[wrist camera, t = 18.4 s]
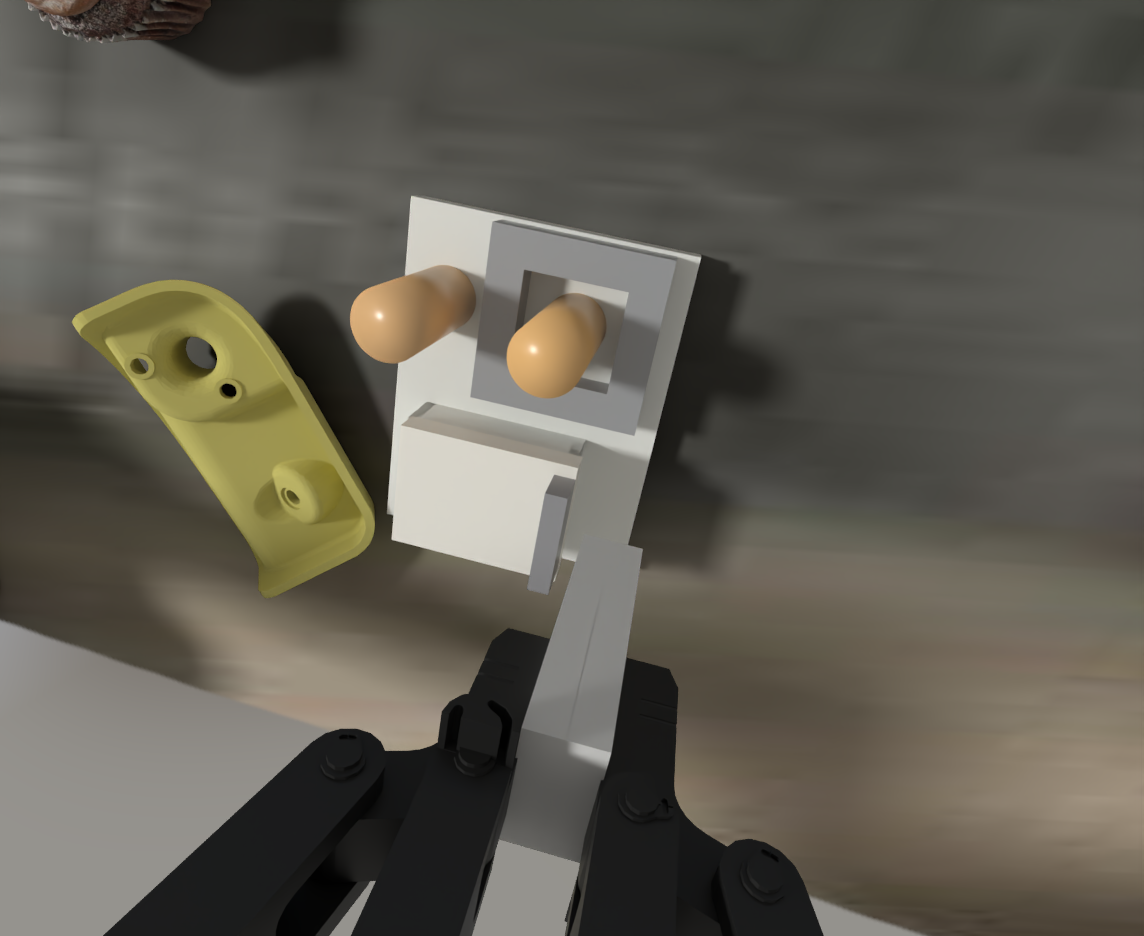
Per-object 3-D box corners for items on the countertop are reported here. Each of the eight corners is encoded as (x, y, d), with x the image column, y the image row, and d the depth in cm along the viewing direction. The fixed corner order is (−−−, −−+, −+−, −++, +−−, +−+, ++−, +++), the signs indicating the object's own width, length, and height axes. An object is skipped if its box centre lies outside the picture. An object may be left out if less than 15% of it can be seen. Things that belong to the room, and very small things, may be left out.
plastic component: (388, 540, 45) (246, 610, 44) (386, 502, 52) (263, 562, 51) (219, 252, 37) (42, 327, 36) (243, 252, 44) (94, 315, 43)
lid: (402, 527, 41) (373, 560, 38) (412, 415, 38) (382, 440, 35) (559, 567, 41) (545, 605, 37) (582, 456, 38) (570, 486, 34)
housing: (396, 503, 46) (326, 577, 38) (421, 195, 38) (340, 200, 29) (623, 561, 45) (604, 651, 36) (701, 254, 37) (701, 278, 28)
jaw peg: (539, 350, 39) (502, 390, 32) (547, 287, 37) (511, 313, 30) (600, 362, 38) (577, 405, 31) (611, 299, 37) (590, 328, 30)
